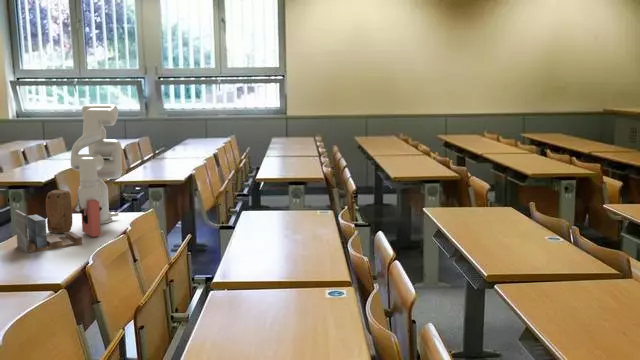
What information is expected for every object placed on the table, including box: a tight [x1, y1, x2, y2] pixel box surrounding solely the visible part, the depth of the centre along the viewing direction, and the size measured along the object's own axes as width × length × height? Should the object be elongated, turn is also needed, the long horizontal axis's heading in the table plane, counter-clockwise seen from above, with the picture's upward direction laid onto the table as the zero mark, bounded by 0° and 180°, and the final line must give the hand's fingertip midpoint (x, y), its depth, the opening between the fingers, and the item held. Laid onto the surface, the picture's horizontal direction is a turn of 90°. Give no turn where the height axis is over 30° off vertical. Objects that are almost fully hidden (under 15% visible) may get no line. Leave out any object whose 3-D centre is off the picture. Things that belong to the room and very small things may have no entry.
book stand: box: [14, 209, 83, 254], centre depth 262 cm, size 23×14×16 cm, turn 131°
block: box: [45, 189, 73, 235], centre depth 284 cm, size 11×8×20 cm
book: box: [80, 200, 102, 238], centre depth 279 cm, size 4×12×16 cm, turn 41°
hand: (90, 222), depth 280 cm, fingers closed on book, 4 cm apart
